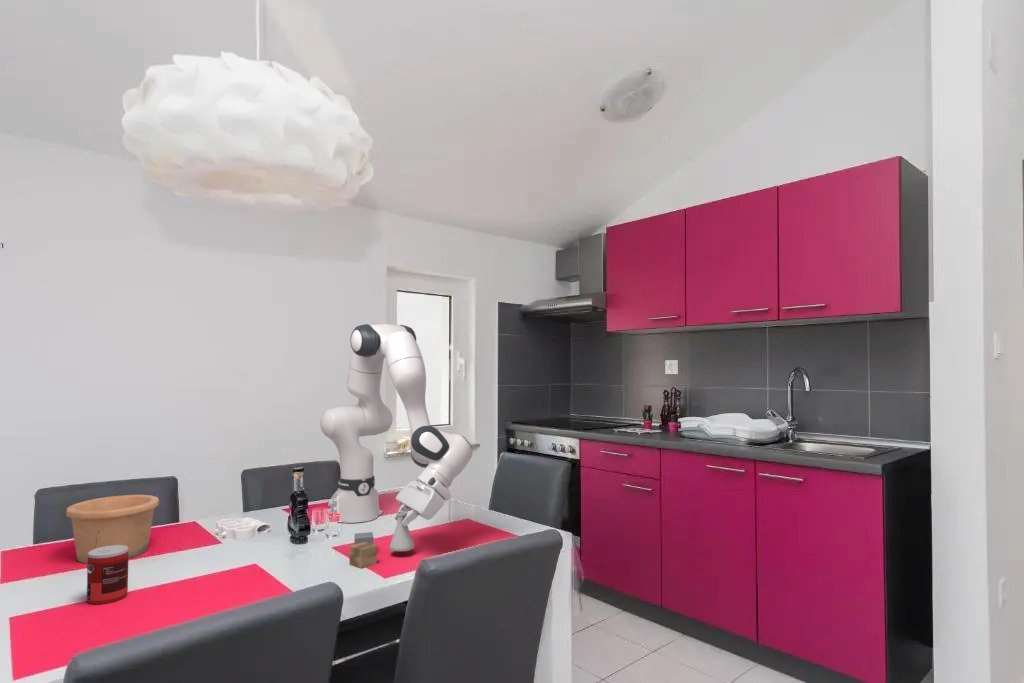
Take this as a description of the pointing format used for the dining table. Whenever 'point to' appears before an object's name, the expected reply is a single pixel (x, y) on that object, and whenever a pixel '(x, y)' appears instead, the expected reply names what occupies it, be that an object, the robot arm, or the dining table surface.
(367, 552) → the walnut block
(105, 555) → the canned food
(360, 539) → the charcoal block
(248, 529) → the white holed piece
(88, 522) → the pottery
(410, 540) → the flask
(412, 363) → the robot arm
